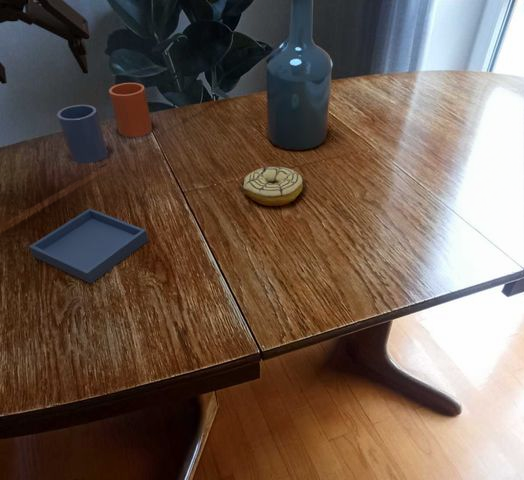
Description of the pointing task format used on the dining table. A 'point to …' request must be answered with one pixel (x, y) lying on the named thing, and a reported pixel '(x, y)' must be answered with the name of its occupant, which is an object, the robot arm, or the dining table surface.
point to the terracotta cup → (131, 109)
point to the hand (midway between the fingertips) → (44, 70)
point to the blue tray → (89, 245)
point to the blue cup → (83, 133)
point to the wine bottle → (298, 85)
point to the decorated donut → (273, 185)
